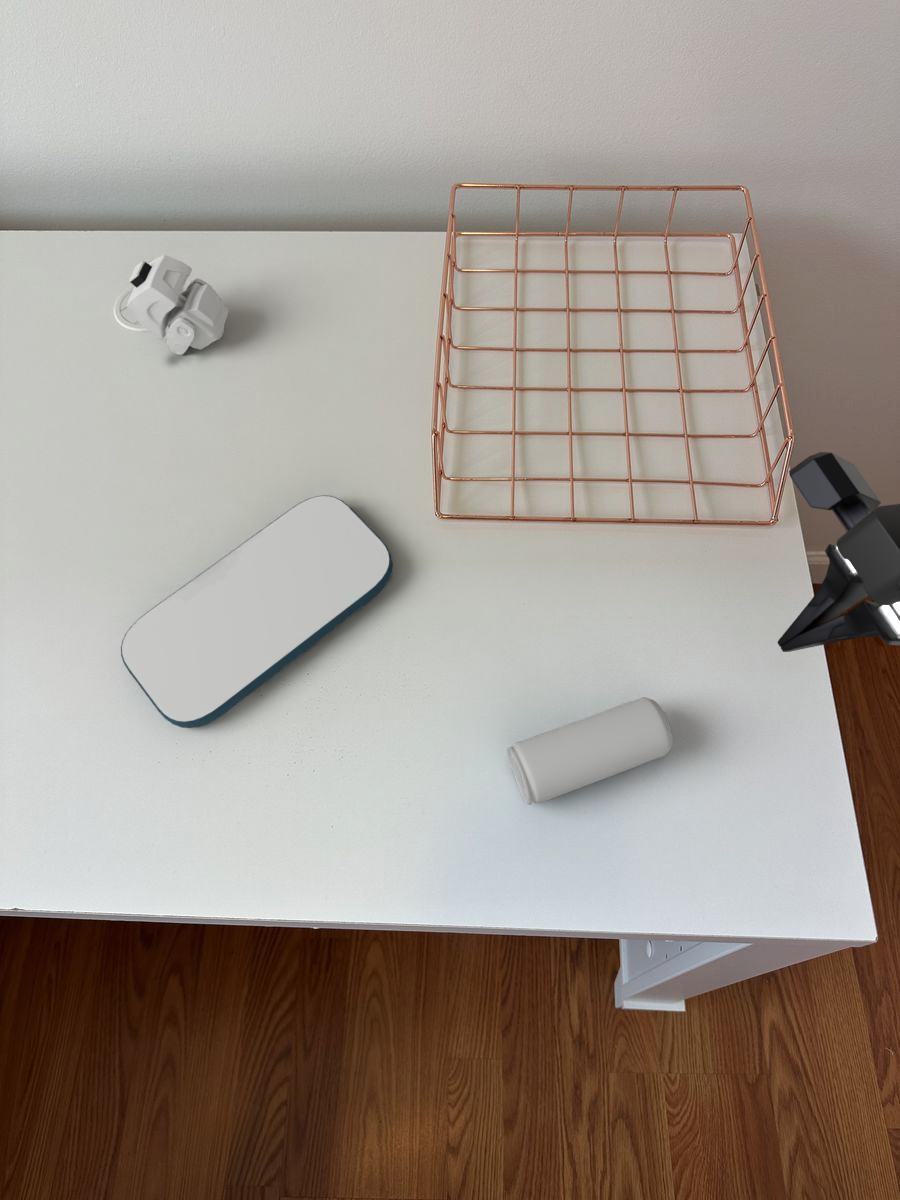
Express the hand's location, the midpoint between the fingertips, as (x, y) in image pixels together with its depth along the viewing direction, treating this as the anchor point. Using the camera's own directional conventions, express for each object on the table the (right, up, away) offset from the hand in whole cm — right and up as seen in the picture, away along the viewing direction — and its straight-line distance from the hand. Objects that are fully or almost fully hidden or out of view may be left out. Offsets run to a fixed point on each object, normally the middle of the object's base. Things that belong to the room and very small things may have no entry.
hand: (782, 647), depth 58 cm
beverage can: (-6, -6, +7) cm, 12 cm away
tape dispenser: (-50, +31, +29) cm, 66 cm away
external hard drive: (-40, +2, +15) cm, 42 cm away
